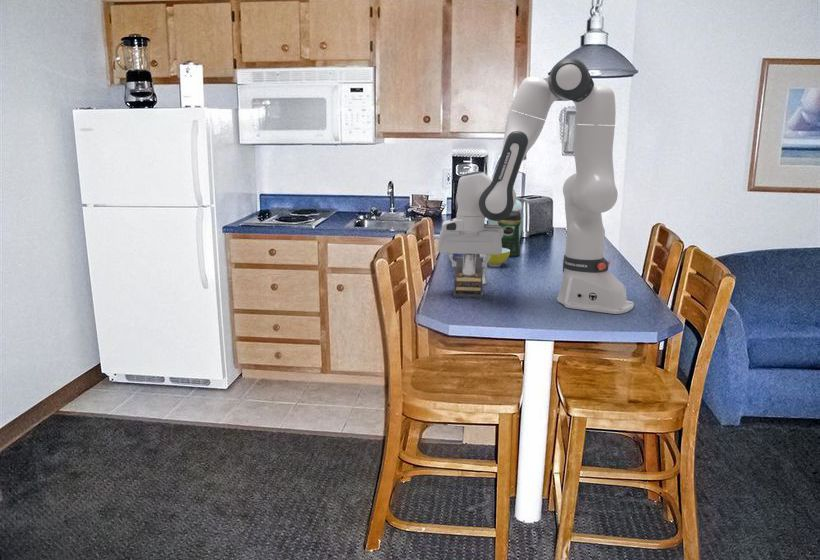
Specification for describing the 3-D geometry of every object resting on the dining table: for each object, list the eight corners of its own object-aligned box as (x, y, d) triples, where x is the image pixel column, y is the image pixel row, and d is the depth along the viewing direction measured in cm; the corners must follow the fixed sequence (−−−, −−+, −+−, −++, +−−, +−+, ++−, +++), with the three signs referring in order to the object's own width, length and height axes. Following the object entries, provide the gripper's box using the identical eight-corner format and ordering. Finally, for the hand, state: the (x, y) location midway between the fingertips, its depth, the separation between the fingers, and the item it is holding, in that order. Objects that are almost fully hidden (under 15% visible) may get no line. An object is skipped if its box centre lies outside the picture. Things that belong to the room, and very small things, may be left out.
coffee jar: (520, 254, 271) (522, 209, 267) (518, 257, 264) (521, 212, 259) (497, 252, 273) (499, 208, 269) (494, 256, 266) (496, 211, 262)
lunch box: (483, 235, 315) (485, 191, 310) (504, 235, 317) (506, 191, 312) (501, 245, 289) (503, 197, 284) (523, 245, 291) (525, 197, 286)
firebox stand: (482, 297, 203) (483, 263, 200) (453, 296, 204) (454, 262, 201) (481, 290, 212) (483, 257, 209) (454, 289, 212) (455, 256, 210)
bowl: (475, 266, 246) (475, 250, 245) (486, 261, 256) (486, 246, 255) (503, 270, 241) (504, 253, 240) (513, 264, 251) (514, 248, 250)
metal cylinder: (477, 290, 208) (478, 253, 205) (470, 292, 205) (471, 255, 202) (466, 288, 210) (467, 252, 207) (459, 290, 207) (460, 253, 204)
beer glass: (472, 286, 217) (473, 242, 214) (464, 281, 224) (466, 238, 220) (491, 285, 219) (493, 241, 215) (483, 280, 226) (485, 237, 222)
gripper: (503, 223, 205) (501, 266, 208) (438, 221, 206) (437, 264, 209) (504, 226, 198) (502, 270, 202) (437, 224, 200) (436, 268, 203)
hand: (469, 267), depth 206 cm, fingers open, 8 cm apart
